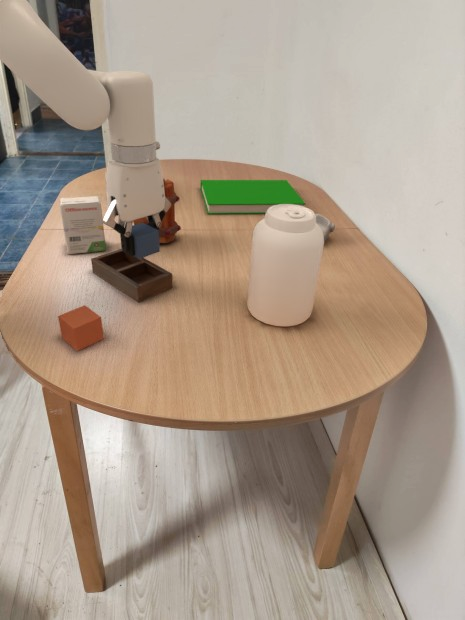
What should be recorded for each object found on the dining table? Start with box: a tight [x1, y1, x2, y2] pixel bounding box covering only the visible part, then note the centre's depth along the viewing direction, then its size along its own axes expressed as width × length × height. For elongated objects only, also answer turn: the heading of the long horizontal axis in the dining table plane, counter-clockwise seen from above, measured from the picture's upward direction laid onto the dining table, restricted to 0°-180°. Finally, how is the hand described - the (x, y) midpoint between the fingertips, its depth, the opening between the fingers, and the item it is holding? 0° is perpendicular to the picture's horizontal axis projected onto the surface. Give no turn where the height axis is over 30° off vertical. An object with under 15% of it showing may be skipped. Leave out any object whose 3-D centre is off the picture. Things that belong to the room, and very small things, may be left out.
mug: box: [133, 178, 182, 244], centre depth 106 cm, size 15×8×15 cm, turn 152°
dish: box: [315, 213, 336, 243], centre depth 115 cm, size 14×14×5 cm
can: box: [246, 204, 325, 327], centre depth 82 cm, size 12×12×20 cm
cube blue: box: [131, 223, 161, 259], centre depth 87 cm, size 5×5×4 cm
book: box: [200, 179, 306, 215], centre depth 138 cm, size 22×28×3 cm
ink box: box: [59, 195, 107, 255], centre depth 102 cm, size 8×5×12 cm, turn 109°
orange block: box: [57, 304, 105, 352], centre depth 76 cm, size 5×5×4 cm
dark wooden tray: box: [90, 248, 173, 303], centre depth 93 cm, size 8×16×3 cm, turn 46°
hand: (141, 248), depth 87 cm, fingers closed on cube blue, 5 cm apart
